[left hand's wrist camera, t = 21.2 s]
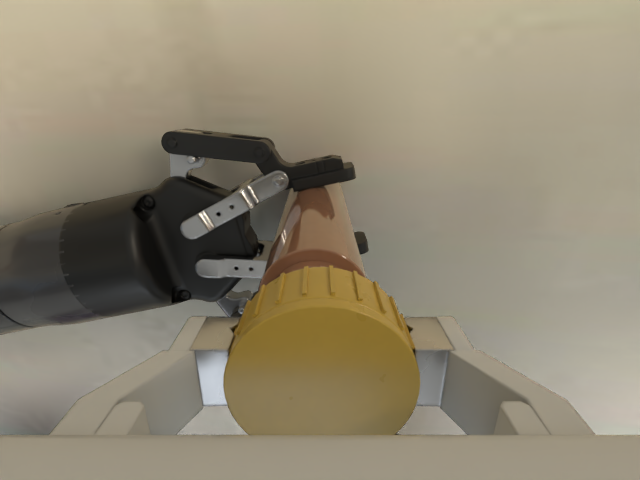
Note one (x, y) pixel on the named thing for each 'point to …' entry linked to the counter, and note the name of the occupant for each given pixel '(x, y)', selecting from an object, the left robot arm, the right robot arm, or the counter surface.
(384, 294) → the lid
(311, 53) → the counter surface
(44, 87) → the counter surface
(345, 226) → the bottle
